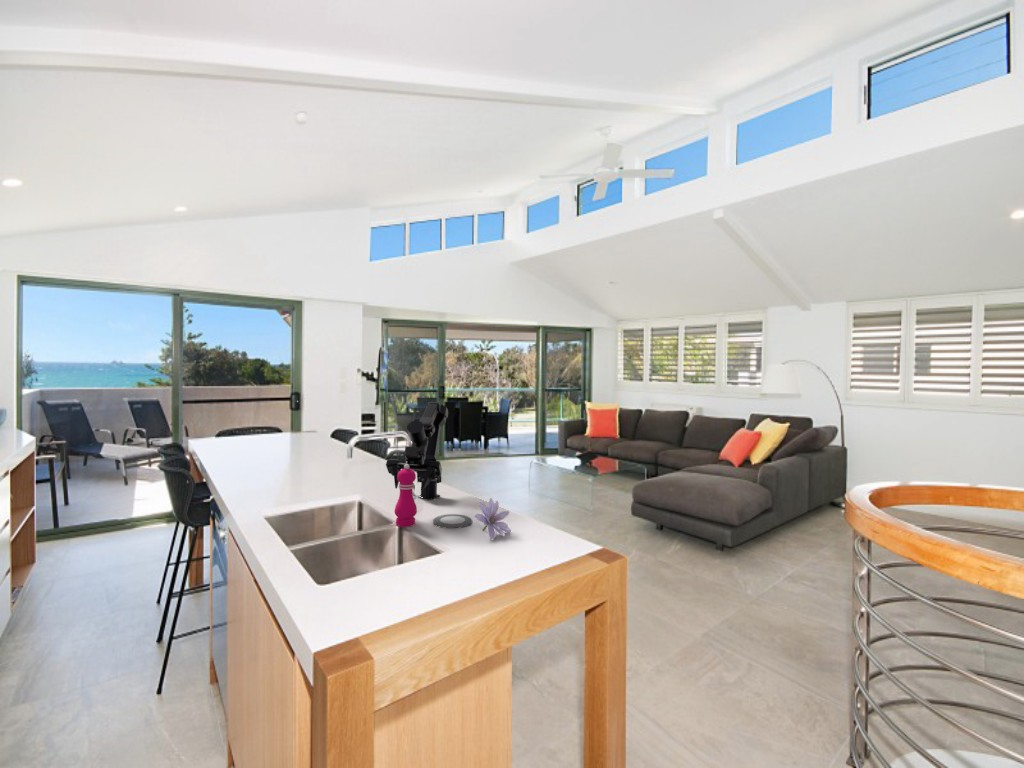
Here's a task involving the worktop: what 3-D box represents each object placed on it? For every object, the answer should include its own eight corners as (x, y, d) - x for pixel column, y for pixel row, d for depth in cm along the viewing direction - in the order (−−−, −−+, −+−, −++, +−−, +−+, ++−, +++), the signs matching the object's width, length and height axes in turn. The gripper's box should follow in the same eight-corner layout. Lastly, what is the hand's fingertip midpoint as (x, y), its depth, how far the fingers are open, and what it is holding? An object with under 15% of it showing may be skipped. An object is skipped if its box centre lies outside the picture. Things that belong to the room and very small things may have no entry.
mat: (447, 513, 178) (447, 511, 178) (478, 519, 172) (479, 517, 172) (425, 523, 166) (425, 521, 166) (458, 530, 160) (458, 528, 160)
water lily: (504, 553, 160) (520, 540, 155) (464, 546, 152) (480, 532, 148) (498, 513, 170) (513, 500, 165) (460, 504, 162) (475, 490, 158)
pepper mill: (408, 519, 171) (410, 460, 170) (420, 524, 165) (422, 464, 164) (390, 523, 165) (391, 463, 164) (401, 529, 160) (403, 467, 159)
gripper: (388, 435, 174) (376, 474, 163) (441, 437, 173) (433, 476, 162) (394, 454, 182) (384, 492, 171) (444, 456, 181) (437, 494, 170)
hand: (409, 488), depth 169 cm, fingers open, 9 cm apart
